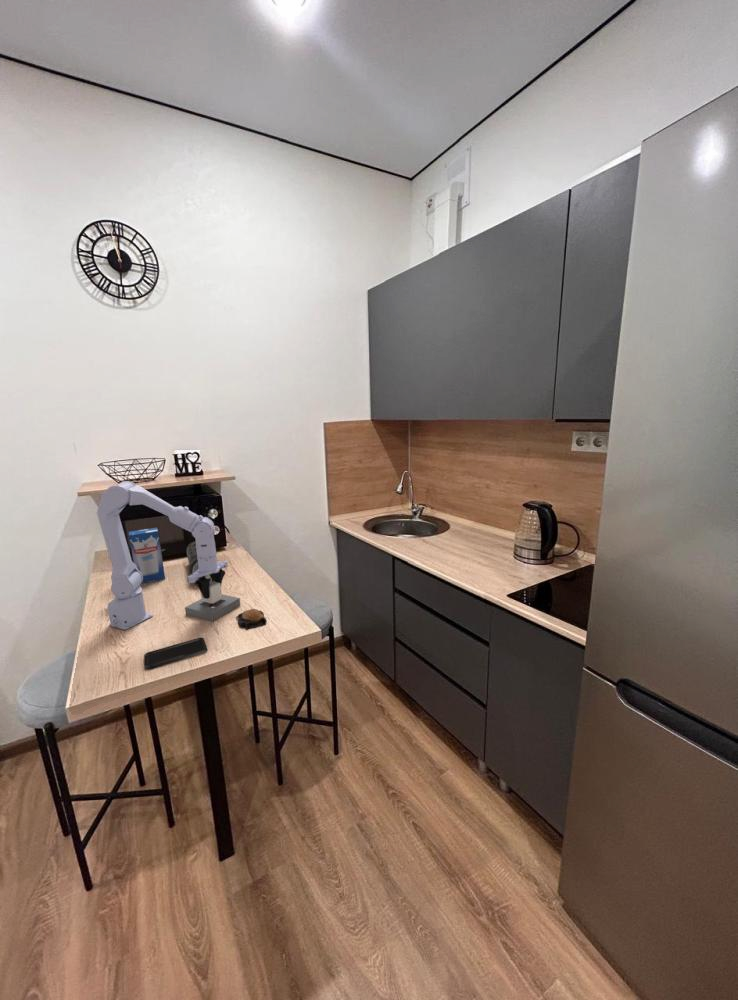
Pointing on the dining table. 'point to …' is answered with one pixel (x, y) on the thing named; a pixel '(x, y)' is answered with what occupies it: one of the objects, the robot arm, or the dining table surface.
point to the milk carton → (147, 554)
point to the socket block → (211, 614)
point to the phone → (174, 653)
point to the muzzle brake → (193, 558)
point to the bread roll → (251, 619)
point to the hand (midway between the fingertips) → (211, 595)
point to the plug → (213, 593)
